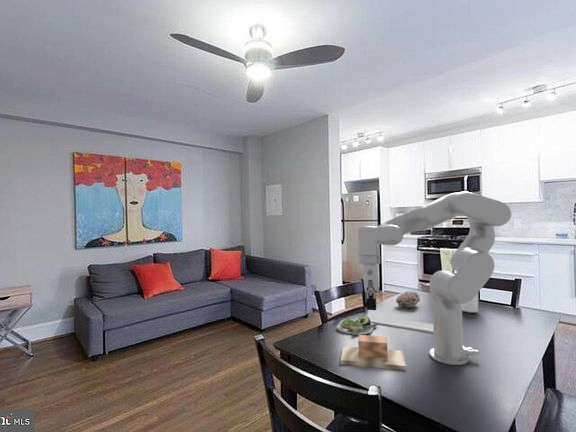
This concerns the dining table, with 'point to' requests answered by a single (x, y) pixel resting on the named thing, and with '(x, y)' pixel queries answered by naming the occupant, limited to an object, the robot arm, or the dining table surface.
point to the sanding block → (373, 347)
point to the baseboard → (402, 323)
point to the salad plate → (357, 326)
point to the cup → (471, 305)
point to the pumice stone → (408, 299)
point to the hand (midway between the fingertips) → (371, 305)
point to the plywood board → (394, 359)
